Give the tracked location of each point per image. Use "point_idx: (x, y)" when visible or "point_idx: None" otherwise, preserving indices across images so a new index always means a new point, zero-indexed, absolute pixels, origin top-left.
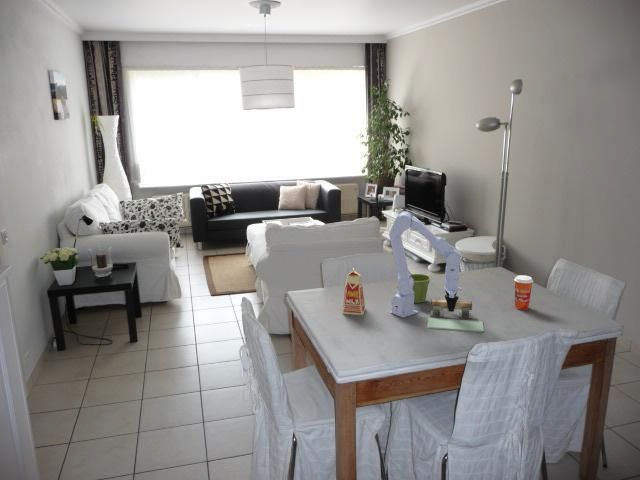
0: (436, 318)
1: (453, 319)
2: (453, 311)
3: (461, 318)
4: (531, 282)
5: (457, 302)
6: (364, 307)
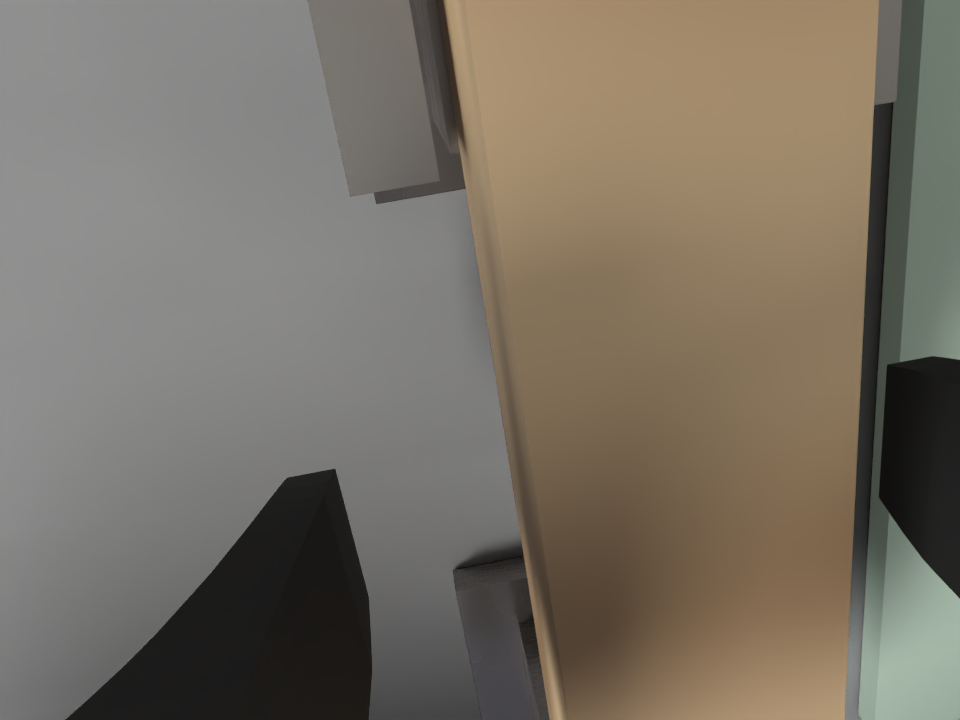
0: (898, 604)
1: (914, 264)
2: (947, 360)
3: None
4: None
5: (775, 397)
6: None
